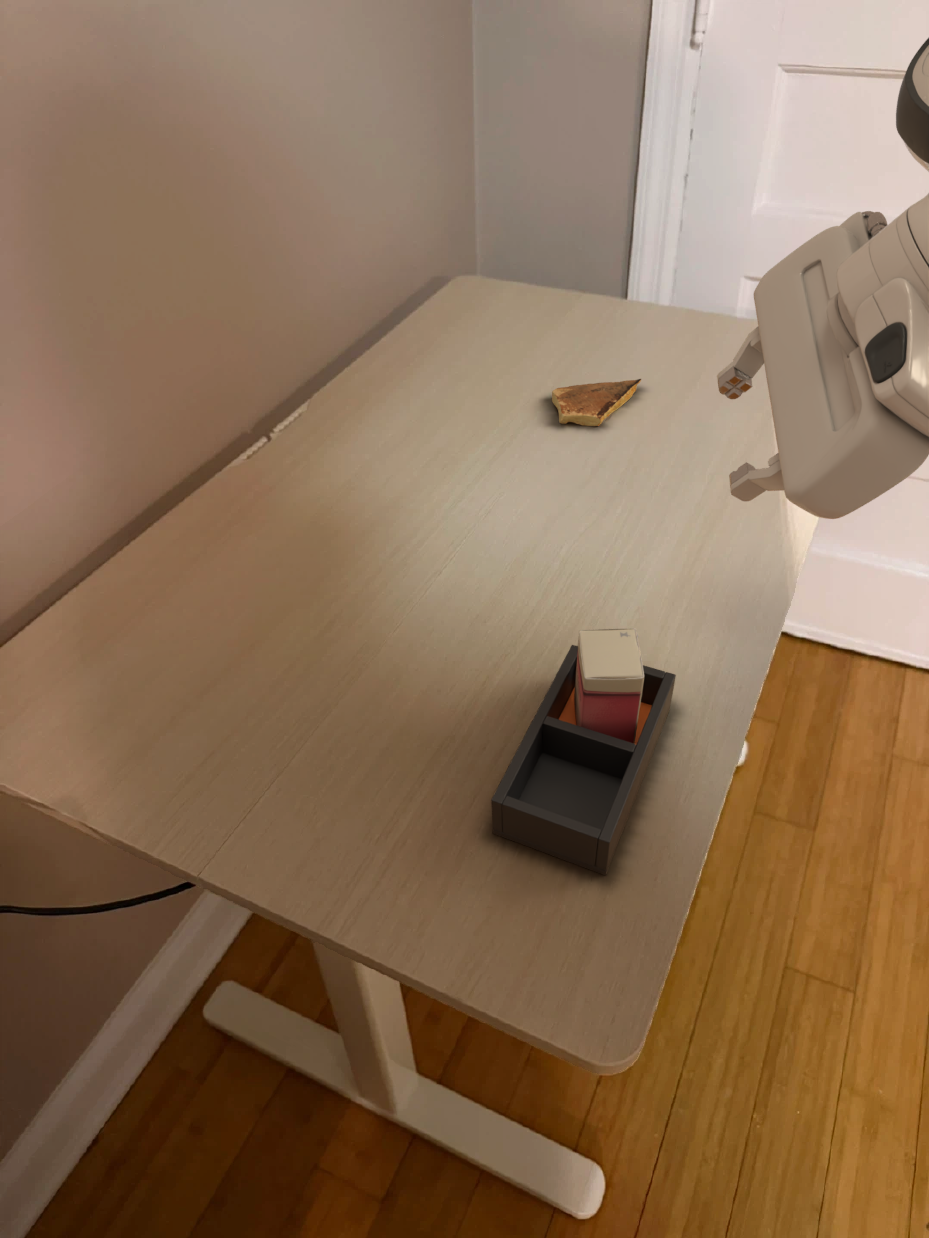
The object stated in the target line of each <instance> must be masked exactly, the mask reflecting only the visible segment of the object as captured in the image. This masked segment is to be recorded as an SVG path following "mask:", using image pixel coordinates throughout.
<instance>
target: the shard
mask: <svg viewBox="0 0 929 1238" xmlns="http://www.w3.org/2000/svg"><path fill="white" fill-rule="evenodd" d="M641 381H642V378H638V379H631V380H622V381H610V382H609V381H607V382H606V381H605V382H596V383H585V384H576V385H575V384H574V385H569V386H563V387H557V388H555V389H553V390H552V391H551V402H552V403H553V405H554V406H555V408H556V409H557V411H558V421H559V423H560V424H562V425H563V424H564V425H565V424H568V423H573V424H577V425H580V426H587V427H600V425H601V424H602V423H603V421H604V420H605V419H607V418H609V417H610V415H612V414H613V413H615V411H617V410H618V409H619V408H620V409H621V407H622V406H623V405H624V404H626V403H627V402H628V401H629V400H630V399H631V398H632V397H633V396H634V394H635V392H636V391H637V389H638V388H637V387H638V385H639V384H640V383H641Z"/></svg>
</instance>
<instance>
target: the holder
mask: <svg viewBox="0 0 929 1238" xmlns="http://www.w3.org/2000/svg"><path fill="white" fill-rule="evenodd" d="M577 654H578V645H575V644H571V646H570V648H569V650H568V651H567V653H566V656H565V657H564V659H563V660H562V662H561V664H560V667H559V669H558V670H557V673H556V674H555V677H554V679H553V680H552V682H551V684H550V685H549V688H548V690H547V691H546V694H545V696H544V697H543V700H542V701H541V703H540V705H539V707H538V709H537V711H536V712H535V714H534V717H533V719H532V720H531V722H530V725H529V726H528V728H527V730H526V731H525V734H524V736H523V738H522V740H521V742H520V744H519V746H518V747H517V749H516V751H515V753H514V755H513V757H512V759H511V761H510V763H509V765H508V767H507V769H506V770H505V772H504V774H503V776H502V778H501V780H500V782H499V784H498V786H497V787H496V790H495V792H494V793H493V795H492V797H491V800H490V804H491V806H490V807H491V827H492V829H491V831H492V834H494V835H497V836H499V837H501V838H504V839H507V840H509V841H513V842H515V843H518V844H520V845H523V846H526V847H528V848H531V849H532V850H533V849H534V850H536V851H539V852H542V853H544V854H547V855H550V856H552V857H555V858H558V859H559V860H563V861H566V862H568V863H571V864H574V865H576V866H579V867H582V868H584V869H587V870H590V871H593V872H594V873H598V874H600V875H603V876H606V875H607V874H608V871H609V868H610V865H611V863H612V860H613V858H614V855H615V853H616V850H617V848H618V845H619V843H620V839H621V836H622V835H623V832H624V829H625V827H626V824H627V822H628V819H629V817H630V815H631V811H632V809H633V807H634V803H635V801H636V798H637V796H638V793H639V791H640V788H641V785H642V783H643V780H644V777H645V775H646V772H647V769H648V768H649V765H650V762H651V759H652V757H653V755H654V751H655V749H656V747H657V743H658V741H659V739H660V736H661V733H662V732H663V728H664V725H665V724H666V720H667V719H668V715H669V713H670V710H671V704H672V699H673V694H674V688H675V684H676V683H675V682H676V678H677V677H676V676H677V675H676V674H675V673H672V672H669V671H665V670H662V669H658V668H656V667H655V668H654V667H651V666H649V665H644V664H643V671H644V683H643V690H642V697H641V703H640V709H639V716H638V723H637V730H636V736H635V743H631V742H627V741H624V740H621V739H618V738H615V737H612V736H609V735H605V734H602V733H599V732H596V731H593V730H590V729H587V728H583V727H580V726H577V725H576V718H575V704H574V693H575V681H576V668H577Z"/></svg>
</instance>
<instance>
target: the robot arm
mask: <svg viewBox="0 0 929 1238" xmlns="http://www.w3.org/2000/svg"><path fill="white" fill-rule="evenodd" d="M895 110H896V111H895V127H896V128H895V129H896V130H897V133H898V135H899V137H900V138H901V140H902V141H903V144H904V145H905V146H904V147H906V149H907V151H908V153H909V154H910V156H911V157H912V158H913V159H914V160H915V161H916V162H917V163H918V164H919V165H920V166H922V167H923V168H924V169H925V170H926V172H928V173H929V37H927V39H926V40H925V41H924V42H923V43H922V44H921V46H920V47H919V49H918V50H917V51H916V53H915V54H914V55H913V58H911V61H910V62H909V64H908V66H907V69H906V71H905V73H904V76H903V78H902V81H901V84H900V87H899V92H898V96H897V101H896V109H895ZM753 302H754V308H755V315H756V320H757V326H756V328H754V329H753V330H752V331H751V332H749V333H748V335H747V336H746V338H745V340H744V341H743V343H742V344H741V346H740V348H739V349H738V350H737V353H736V354H735V356H734V357H733V359H732V361H731V362H730V363H729V364H728V365H726V366H725V367H724V368H722V370H721V371H719V372H718V373H717V375H716V377H717V386H718V388H717V389H718V392H719V394H721V395H725V398H727V399H729V400H736V399H738V398H741V396H742V394H743V393H747V392H748V391H749V390H750V389H751V388H753V380H752V379H754V377H755V375H756V374H757V373H758V372H759V370H760V369H761V368H762V367H763V366H764V369H765V376H766V383H767V384H766V385H767V390H768V395H769V402H770V409H771V414H772V421H773V427H774V433H775V440H776V447H777V453H776V454H774V455H773V456H771V457H770V458H769V459H768V460H767V464H768V467H764V468H756V467H755V466H754V465H753V464H750V463H749V462H744V463H743V464H741V465H740V466H739V467H738V468H737V469H736V470H733V471H732V472H730V473H729V475H728V477H729V488H730V489H729V491H730V494H731V496H733V497H734V498H736V499H737V500H740V501H741V502H751V501H752V500H754V499H756V498H757V497H759V496H760V495H762V494H763V493H765V492H766V491H767V492H779V491H781V492H782V491H784V495H785V498H786V499H787V500H788V501H789V502H790V503H791V504H794V505H795V506H796V507H798V508H799V509H801V510H803V511H805V512H807V513H809V514H810V515H813V516H814V517H816V518H820V519H825V520H826V519H827V520H836V519H840V518H844V517H846V516H848V515H850V514H851V513H852V512H853V513H854V512H855V511H856V510H859V509H861V508H862V507H864V506H865V505H867V504H869V503H870V502H872V501H874V500H876V499H877V498H879V497H880V496H882V495H883V494H885V493H886V492H888V491H890V490H891V489H893V488H894V487H895V486H897V485H899V484H900V483H901V482H903V481H904V480H906V479H907V478H909V477H910V476H911V475H913V474H914V473H915V472H916V471H917V470H918V469H919V468H920V467H922V465H923V464H924V462H925V461H926V460H927V458H928V457H929V192H928V193H927V194H926V195H925V196H924V197H921V198H920V199H919V200H918V201H916V202H915V203H913V204H911V205H910V206H909V207H907V208H906V209H905V210H904V211H903V212H901V213H900V214H899V215H898V216H896V217H895V218H894V219H893V220H892V221H891V222H889V223H888V221H887V218H886V216H885V215H884V214H883V213H882V212H880V211H873V210H872V211H871V210H866V211H857V212H855V213H852V214H851V215H850V216H849V217H847V219H846V220H844V221H843V222H842V223H841V224H840V225H834V226H830V227H828V228H826V229H824V230H822V231H821V232H819V233H817V234H815V235H814V236H812V237H811V238H810V239H808V240H807V241H805V242H804V243H802V244H801V245H800V246H799V247H797V248H796V249H795V250H793V251H792V252H790V253H789V254H788V255H786V256H785V257H784V258H782V259H781V260H780V261H778V262H777V263H776V264H775V265H774V266H772V267H771V268H770V269H769V270H768V271H767V272H766V273H765V274H764V275H763V276H762V277H761V279H760V280H759V282H758V284H757V285H756V287H755V289H754V290H753Z"/></svg>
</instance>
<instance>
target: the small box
mask: <svg viewBox="0 0 929 1238" xmlns="http://www.w3.org/2000/svg"><path fill="white" fill-rule="evenodd" d="M577 641H578V642H577V646H578V654H577V668H576V681H575V693H574V704H575V718H576V725H577V726H580V727H583V728H587V729H590V730H593V731H596V732H599V733H602V734H605V735H609V736H612V737H615V738H618V739H621V740H624V741H627V742H631V743H635V736H636V730H637V723H638V716H639V709H640V703H641V697H642V690H643V683H644V671H643V665H644V663H643V659H642V653H641V647H640V642H639V638H638V633H637V628H634V627H631V628H599V629H598V628H597V629H596V628H595V629H581V630H579V631H578V640H577Z"/></svg>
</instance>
